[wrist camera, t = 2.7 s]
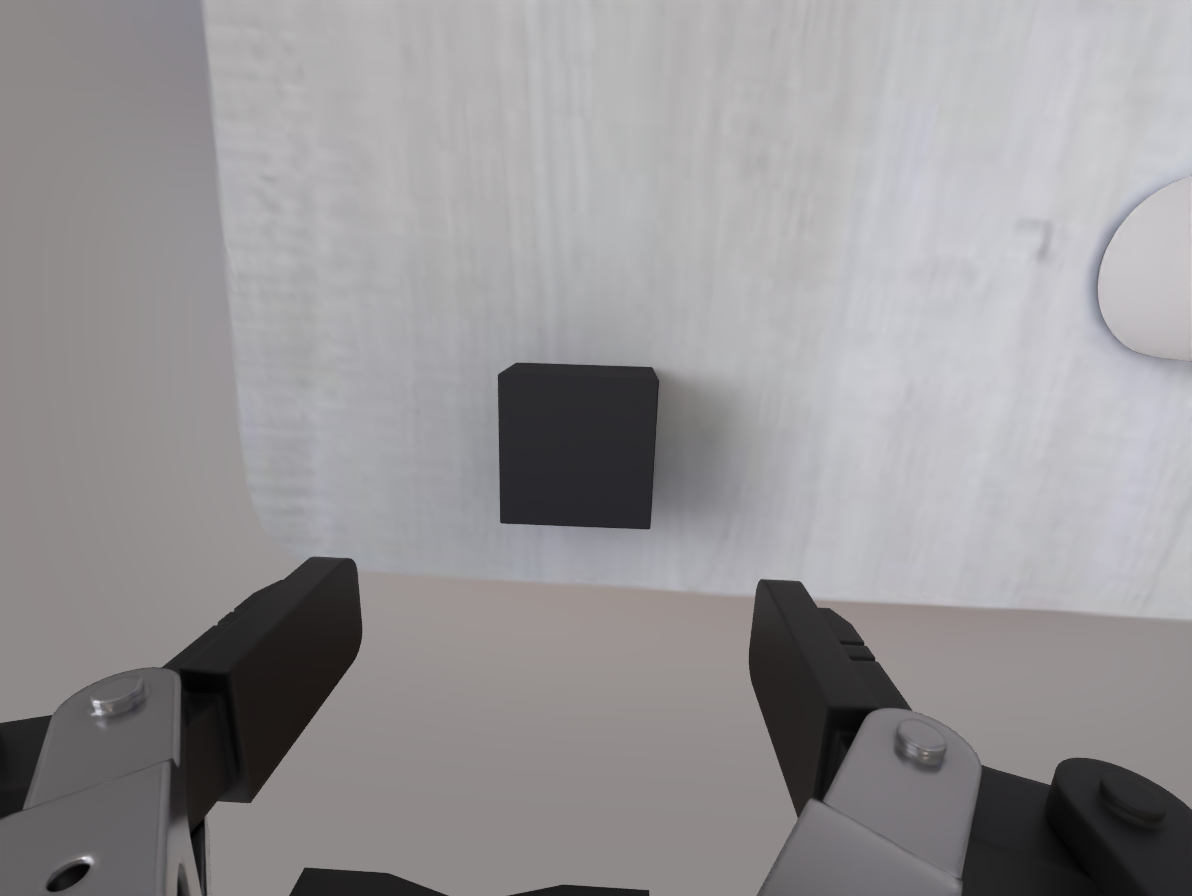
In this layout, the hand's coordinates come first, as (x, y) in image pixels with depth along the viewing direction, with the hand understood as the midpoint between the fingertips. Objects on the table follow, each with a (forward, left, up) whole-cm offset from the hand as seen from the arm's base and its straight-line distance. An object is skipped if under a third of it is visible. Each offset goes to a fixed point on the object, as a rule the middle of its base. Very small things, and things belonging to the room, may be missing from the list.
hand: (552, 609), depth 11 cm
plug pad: (0, +1, -13) cm, 13 cm away
